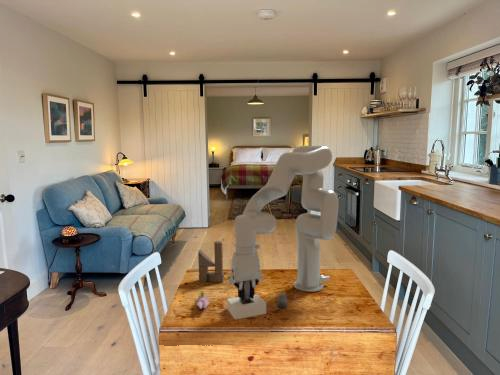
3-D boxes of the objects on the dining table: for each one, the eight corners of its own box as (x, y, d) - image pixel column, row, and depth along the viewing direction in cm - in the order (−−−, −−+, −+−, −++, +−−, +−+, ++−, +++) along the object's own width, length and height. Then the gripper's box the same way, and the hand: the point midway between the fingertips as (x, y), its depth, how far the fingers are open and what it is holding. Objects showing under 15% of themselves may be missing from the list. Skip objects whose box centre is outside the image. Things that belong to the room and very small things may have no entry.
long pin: (248, 303, 140) (248, 275, 139) (252, 307, 137) (251, 278, 136) (240, 305, 139) (240, 276, 138) (243, 308, 136) (243, 279, 135)
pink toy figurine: (194, 302, 150) (194, 313, 135) (194, 287, 150) (193, 297, 135) (210, 301, 150) (211, 312, 136) (210, 286, 151) (211, 295, 136)
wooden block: (200, 279, 171) (199, 240, 169) (224, 279, 171) (223, 240, 168) (198, 282, 168) (197, 242, 166) (222, 282, 167) (222, 243, 165)
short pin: (284, 304, 144) (284, 293, 143) (288, 308, 141) (288, 296, 140) (276, 305, 143) (276, 294, 142) (280, 309, 140) (280, 297, 139)
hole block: (256, 303, 145) (256, 293, 144) (266, 313, 136) (266, 303, 136) (227, 309, 141) (226, 298, 140) (234, 319, 132) (234, 308, 132)
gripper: (262, 244, 142) (263, 291, 144) (220, 249, 136) (221, 297, 138) (270, 249, 135) (270, 298, 137) (227, 254, 129) (227, 305, 132)
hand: (246, 297), depth 138 cm, fingers closed on long pin, 3 cm apart
